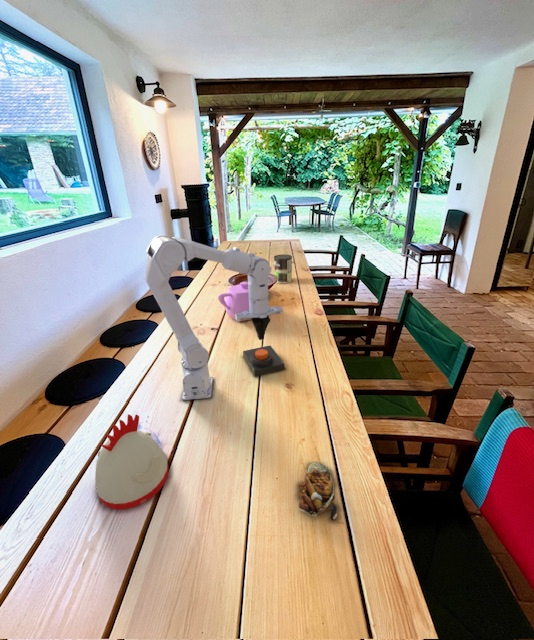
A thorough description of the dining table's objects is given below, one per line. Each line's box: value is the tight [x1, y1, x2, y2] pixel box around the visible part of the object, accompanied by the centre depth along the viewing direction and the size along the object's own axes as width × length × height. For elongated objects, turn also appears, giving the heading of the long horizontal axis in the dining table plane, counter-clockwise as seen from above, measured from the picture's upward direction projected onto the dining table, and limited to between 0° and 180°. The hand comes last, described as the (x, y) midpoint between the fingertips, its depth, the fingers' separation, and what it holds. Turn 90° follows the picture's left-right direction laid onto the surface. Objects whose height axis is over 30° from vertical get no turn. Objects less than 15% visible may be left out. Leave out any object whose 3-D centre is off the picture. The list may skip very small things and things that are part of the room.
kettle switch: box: [242, 345, 286, 377], centre depth 105 cm, size 13×10×4 cm
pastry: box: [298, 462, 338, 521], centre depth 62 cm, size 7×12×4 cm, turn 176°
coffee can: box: [273, 254, 293, 284], centre depth 183 cm, size 10×10×14 cm
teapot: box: [217, 281, 251, 322], centre depth 136 cm, size 23×21×15 cm
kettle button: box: [255, 349, 268, 360], centre depth 102 cm, size 4×4×2 cm
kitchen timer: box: [94, 414, 170, 511], centre depth 64 cm, size 14×14×15 cm
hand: (260, 338), depth 100 cm, fingers closed
